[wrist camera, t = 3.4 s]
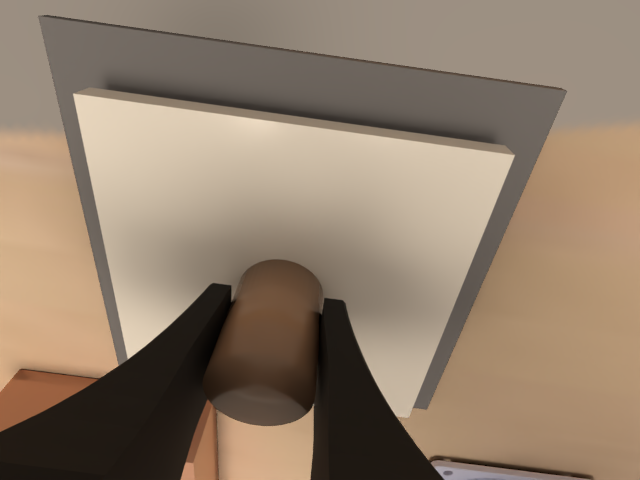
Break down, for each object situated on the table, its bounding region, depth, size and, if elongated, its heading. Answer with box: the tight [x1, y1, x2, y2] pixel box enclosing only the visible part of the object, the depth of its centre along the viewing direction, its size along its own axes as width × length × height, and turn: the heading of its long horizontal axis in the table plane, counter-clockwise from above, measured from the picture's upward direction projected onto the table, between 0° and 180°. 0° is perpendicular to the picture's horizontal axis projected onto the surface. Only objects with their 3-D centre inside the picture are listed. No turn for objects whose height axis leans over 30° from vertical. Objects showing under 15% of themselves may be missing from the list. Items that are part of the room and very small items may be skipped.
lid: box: [73, 87, 515, 426], centre depth 13 cm, size 12×12×5 cm
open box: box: [0, 369, 219, 480], centre depth 21 cm, size 10×10×4 cm
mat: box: [38, 15, 567, 409], centre depth 15 cm, size 15×15×1 cm
